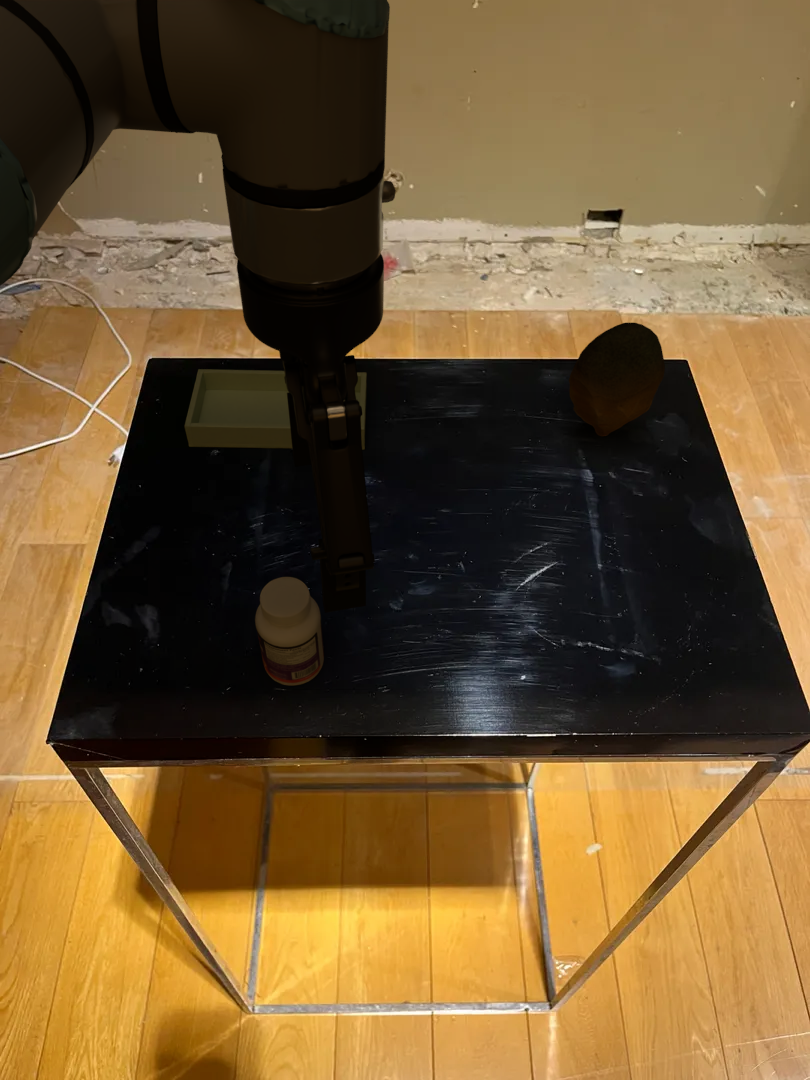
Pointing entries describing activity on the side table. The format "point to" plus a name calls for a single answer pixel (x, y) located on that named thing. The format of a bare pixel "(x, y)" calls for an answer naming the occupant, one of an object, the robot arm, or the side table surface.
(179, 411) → the side table surface
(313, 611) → the pill bottle
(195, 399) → the tray
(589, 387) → the decorative stone
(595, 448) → the side table surface
